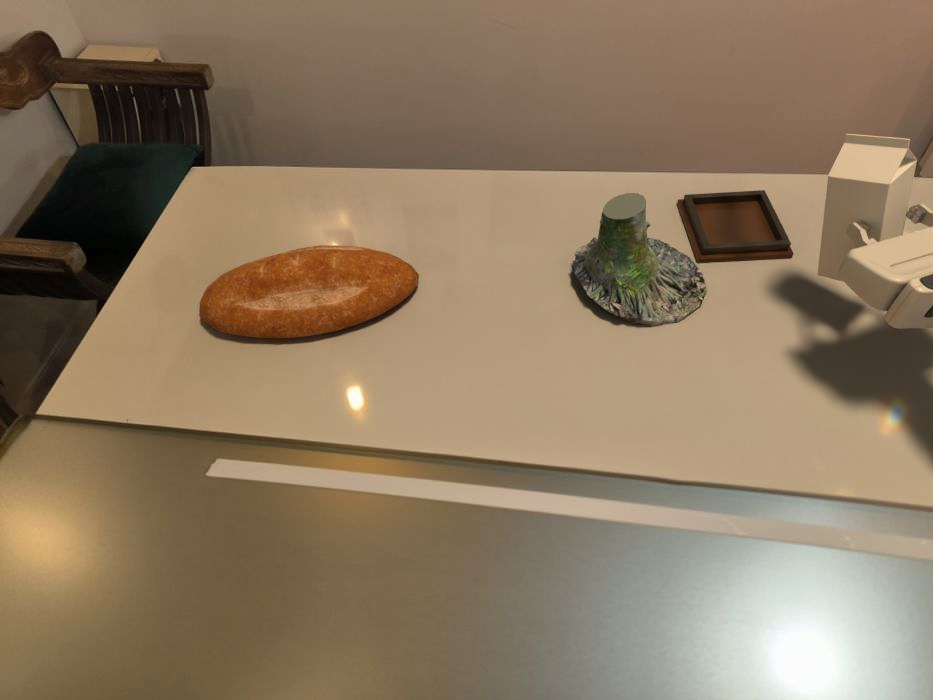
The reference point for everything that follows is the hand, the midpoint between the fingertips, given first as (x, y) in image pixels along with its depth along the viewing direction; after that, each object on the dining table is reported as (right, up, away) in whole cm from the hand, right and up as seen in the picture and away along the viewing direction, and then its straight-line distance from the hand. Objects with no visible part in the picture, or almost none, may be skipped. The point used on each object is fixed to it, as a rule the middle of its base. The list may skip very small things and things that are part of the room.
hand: (882, 217), depth 78 cm
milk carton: (+1, -6, +7) cm, 9 cm away
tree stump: (-27, -7, +18) cm, 33 cm away
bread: (-78, -9, +21) cm, 82 cm away
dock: (-9, +3, +25) cm, 26 cm away
